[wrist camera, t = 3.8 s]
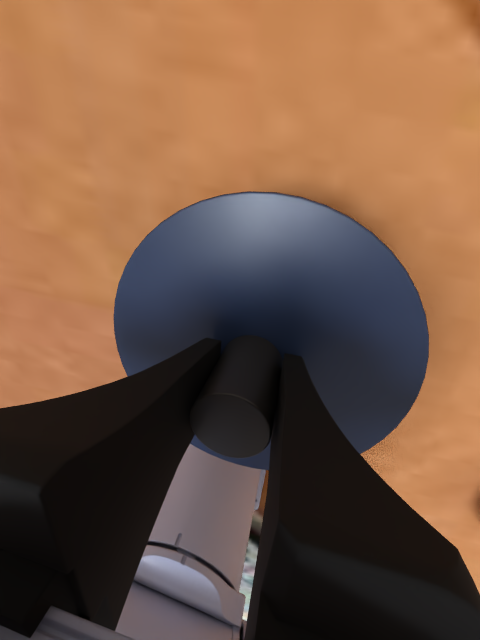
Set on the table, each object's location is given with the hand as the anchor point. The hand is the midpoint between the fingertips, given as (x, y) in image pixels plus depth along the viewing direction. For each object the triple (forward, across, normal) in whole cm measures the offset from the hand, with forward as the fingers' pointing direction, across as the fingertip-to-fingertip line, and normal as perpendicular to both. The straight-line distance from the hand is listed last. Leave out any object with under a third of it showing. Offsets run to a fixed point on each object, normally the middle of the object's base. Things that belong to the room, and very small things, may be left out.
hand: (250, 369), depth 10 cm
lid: (+1, 0, 0) cm, 1 cm away
